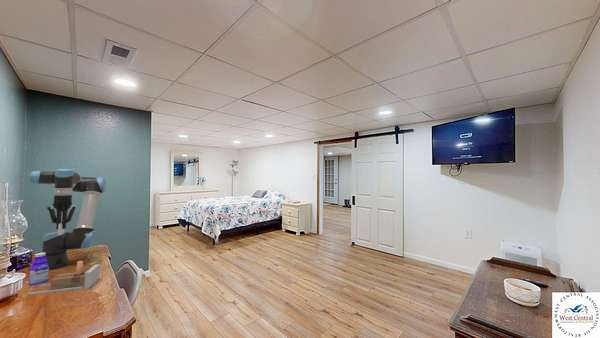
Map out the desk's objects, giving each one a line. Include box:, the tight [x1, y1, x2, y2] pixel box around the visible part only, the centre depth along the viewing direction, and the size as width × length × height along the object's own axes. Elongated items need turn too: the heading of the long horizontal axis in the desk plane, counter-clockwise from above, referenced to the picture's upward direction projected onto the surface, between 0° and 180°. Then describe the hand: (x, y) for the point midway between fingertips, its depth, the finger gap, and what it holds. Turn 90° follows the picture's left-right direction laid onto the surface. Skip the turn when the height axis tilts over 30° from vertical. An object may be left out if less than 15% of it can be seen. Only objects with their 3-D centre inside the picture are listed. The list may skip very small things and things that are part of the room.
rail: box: [26, 263, 101, 296], centre depth 127 cm, size 13×26×10 cm, turn 113°
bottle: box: [28, 252, 50, 286], centre depth 132 cm, size 7×6×17 cm
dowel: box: [75, 260, 84, 276], centre depth 129 cm, size 2×2×12 cm
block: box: [49, 270, 88, 290], centre depth 128 cm, size 8×14×6 cm, turn 113°
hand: (60, 234), depth 138 cm, fingers closed
